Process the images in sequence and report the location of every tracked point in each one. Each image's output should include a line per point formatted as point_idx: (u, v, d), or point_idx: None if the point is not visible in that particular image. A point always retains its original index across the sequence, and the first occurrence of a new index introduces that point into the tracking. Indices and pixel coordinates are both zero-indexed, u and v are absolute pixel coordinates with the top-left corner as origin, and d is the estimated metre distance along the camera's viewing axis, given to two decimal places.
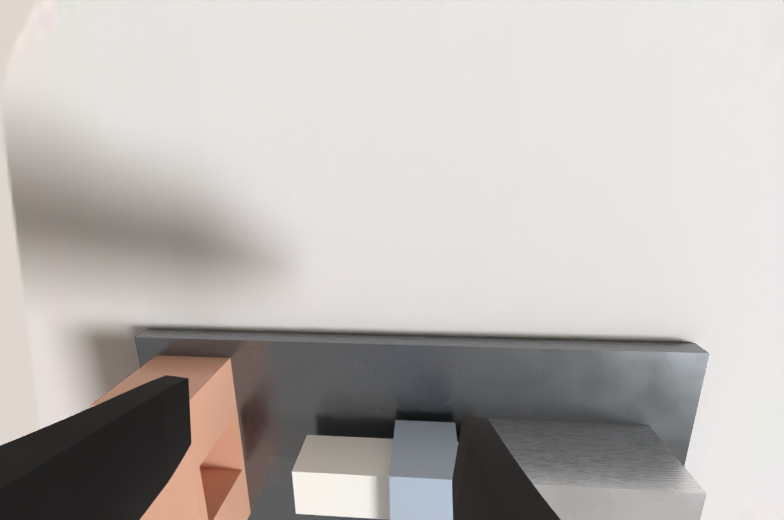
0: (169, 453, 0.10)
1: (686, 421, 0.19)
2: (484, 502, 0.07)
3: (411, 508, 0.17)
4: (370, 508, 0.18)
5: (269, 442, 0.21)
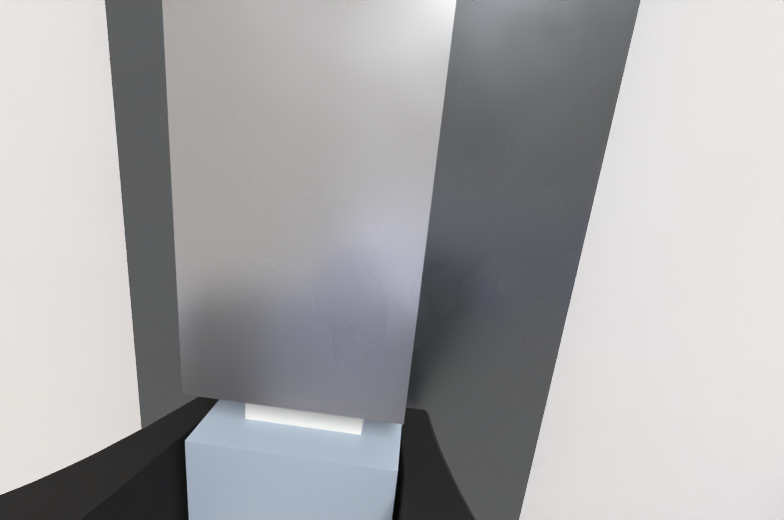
0: None
1: None
2: (402, 490, 0.07)
3: None
4: None
5: None
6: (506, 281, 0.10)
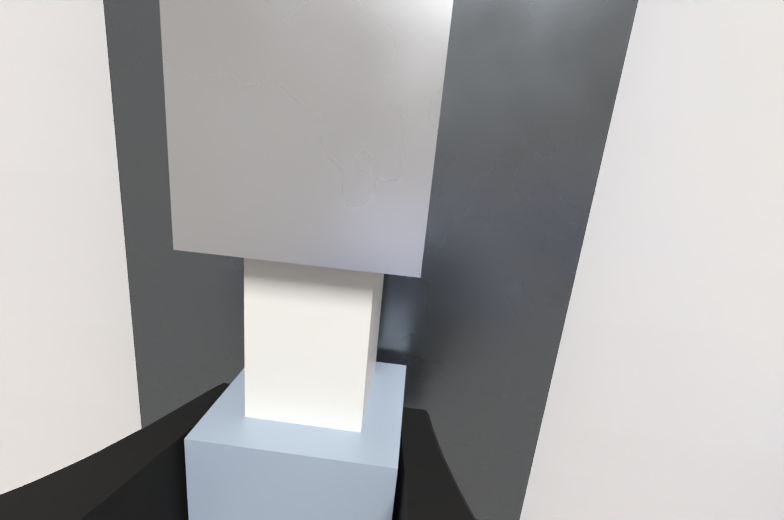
0: None
1: None
2: (402, 490, 0.07)
3: None
4: None
5: None
6: (524, 175, 0.09)
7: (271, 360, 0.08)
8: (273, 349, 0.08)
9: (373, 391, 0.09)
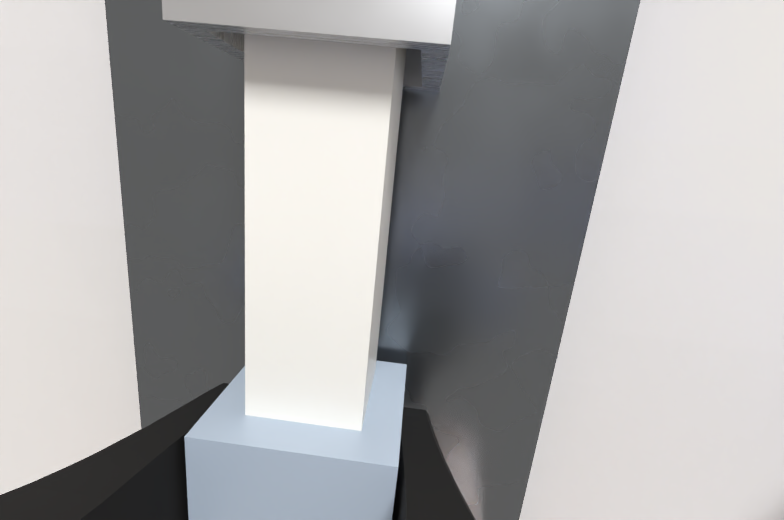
0: None
1: None
2: (401, 490, 0.07)
3: None
4: None
5: None
6: (554, 22, 0.09)
7: (272, 358, 0.08)
8: (274, 347, 0.08)
9: (373, 390, 0.09)
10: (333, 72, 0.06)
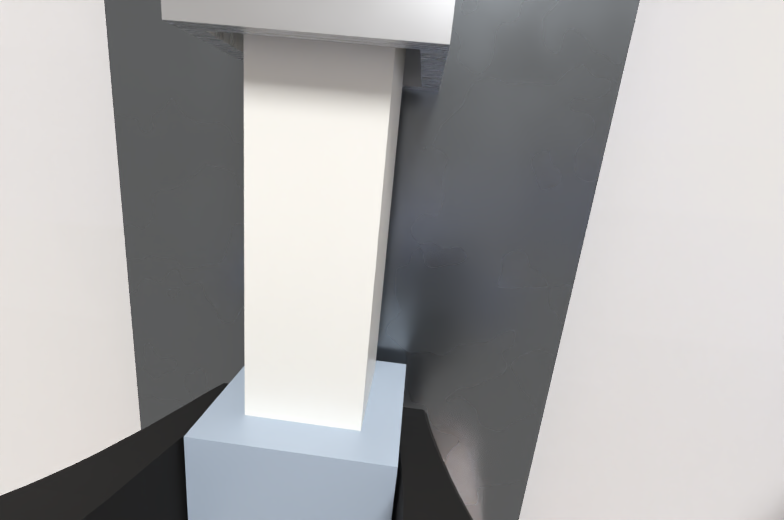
0: None
1: None
2: (399, 490, 0.07)
3: None
4: None
5: None
6: (553, 22, 0.09)
7: (271, 358, 0.08)
8: (273, 347, 0.08)
9: (373, 390, 0.09)
10: (333, 72, 0.06)
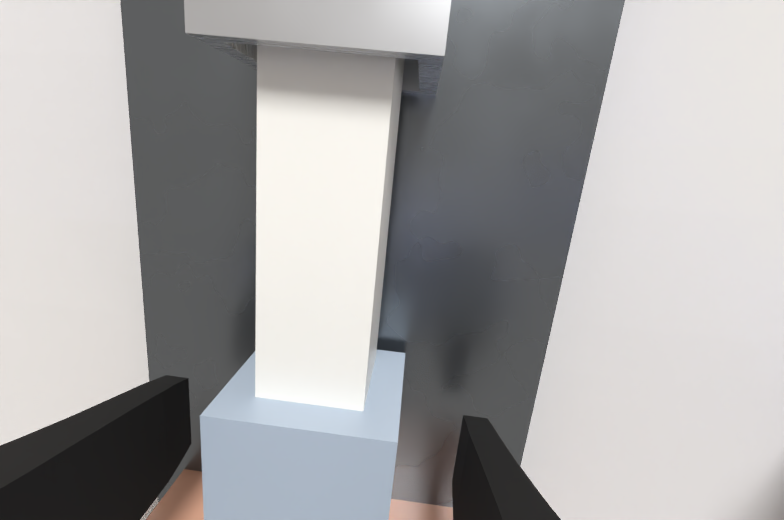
0: (169, 453, 0.10)
1: None
2: (484, 502, 0.07)
3: (276, 508, 0.08)
4: None
5: None
6: (542, 31, 0.09)
7: (280, 343, 0.08)
8: (282, 333, 0.08)
9: (374, 375, 0.10)
10: (338, 79, 0.07)
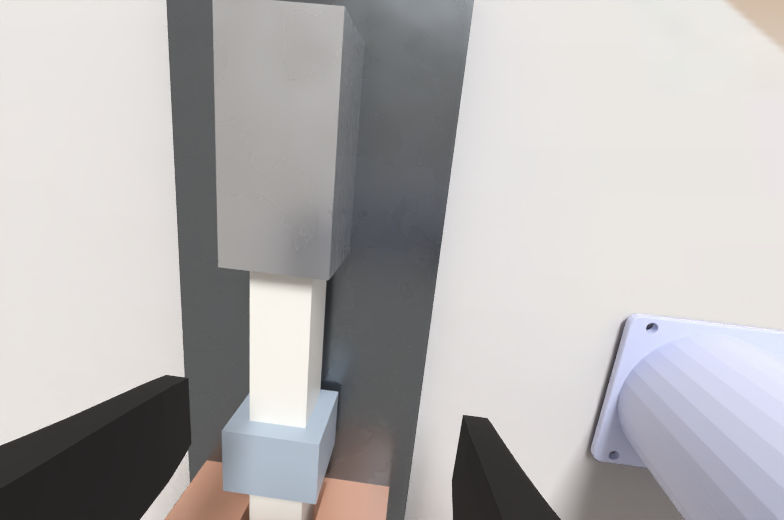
0: (169, 453, 0.10)
1: None
2: (484, 502, 0.07)
3: (260, 478, 0.16)
4: (288, 501, 0.17)
5: None
6: (404, 223, 0.17)
7: (262, 394, 0.16)
8: (263, 388, 0.16)
9: (316, 407, 0.18)
10: (287, 276, 0.15)
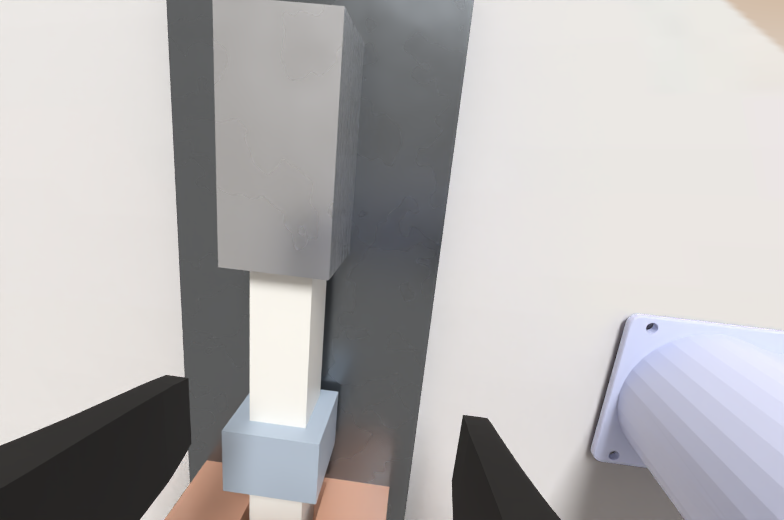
0: (169, 453, 0.10)
1: None
2: (484, 502, 0.07)
3: (260, 478, 0.16)
4: (288, 501, 0.17)
5: None
6: (404, 223, 0.17)
7: (262, 394, 0.16)
8: (263, 388, 0.16)
9: (316, 407, 0.18)
10: (287, 276, 0.15)
